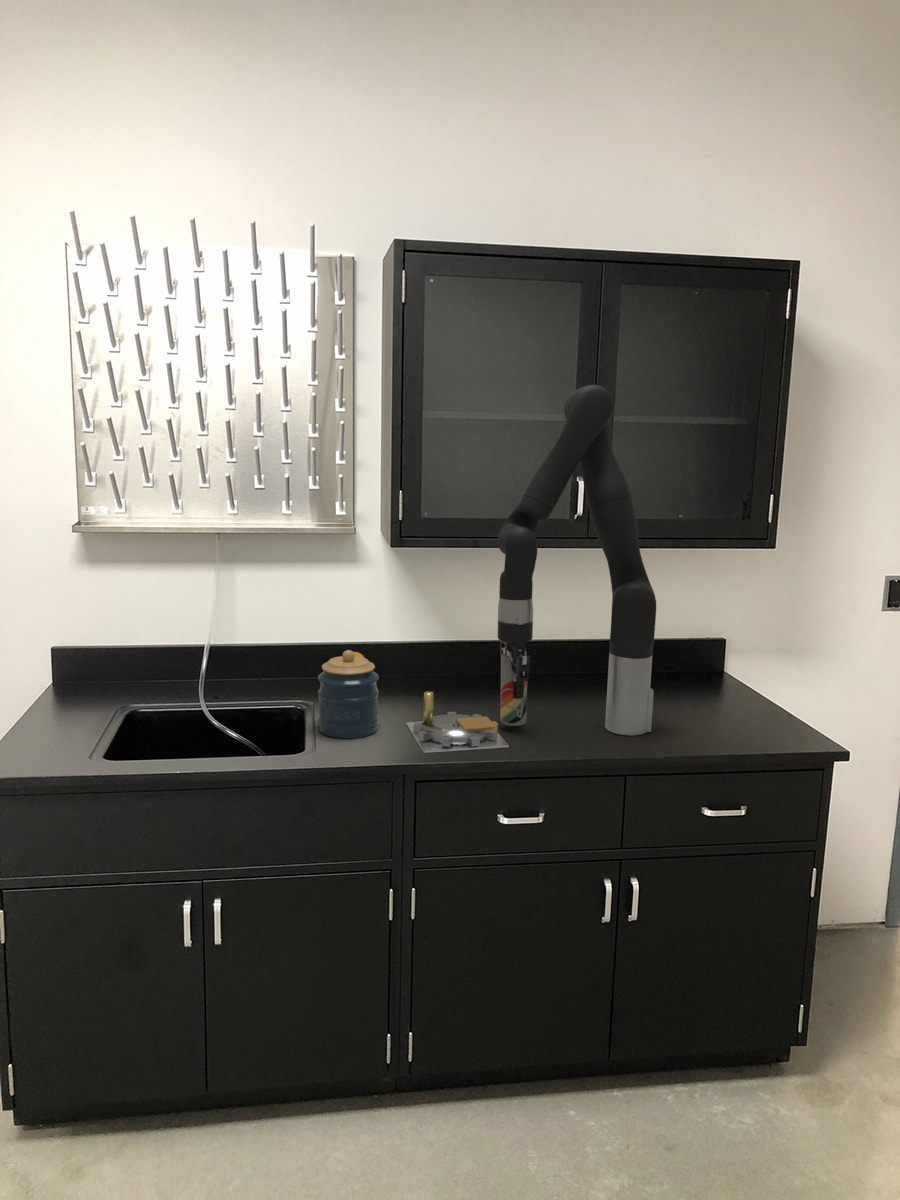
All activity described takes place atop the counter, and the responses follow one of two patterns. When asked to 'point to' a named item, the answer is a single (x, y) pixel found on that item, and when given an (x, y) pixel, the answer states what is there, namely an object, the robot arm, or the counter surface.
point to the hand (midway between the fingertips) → (513, 693)
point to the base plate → (436, 746)
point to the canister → (348, 697)
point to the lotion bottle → (511, 695)
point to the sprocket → (454, 726)
